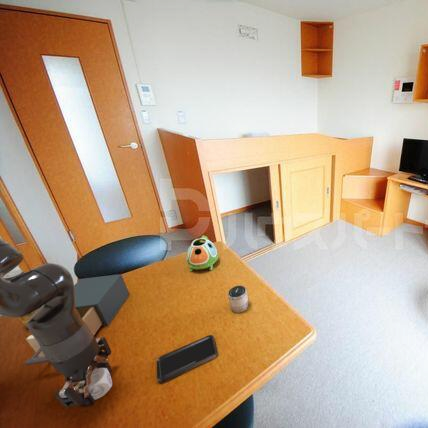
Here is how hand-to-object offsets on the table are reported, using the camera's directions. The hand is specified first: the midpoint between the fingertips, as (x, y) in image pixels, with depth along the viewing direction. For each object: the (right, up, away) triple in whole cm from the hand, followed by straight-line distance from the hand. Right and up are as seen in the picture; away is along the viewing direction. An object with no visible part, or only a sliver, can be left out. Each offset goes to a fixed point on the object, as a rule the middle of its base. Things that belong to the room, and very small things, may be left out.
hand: (98, 387), depth 61 cm
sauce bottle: (-36, +8, +19) cm, 42 cm away
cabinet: (-21, +10, +23) cm, 33 cm away
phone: (+19, +3, +8) cm, 20 cm away
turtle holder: (+3, +22, +49) cm, 54 cm away
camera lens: (+27, +11, +26) cm, 39 cm away
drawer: (-18, +6, +11) cm, 22 cm away
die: (0, -1, 0) cm, 1 cm away
